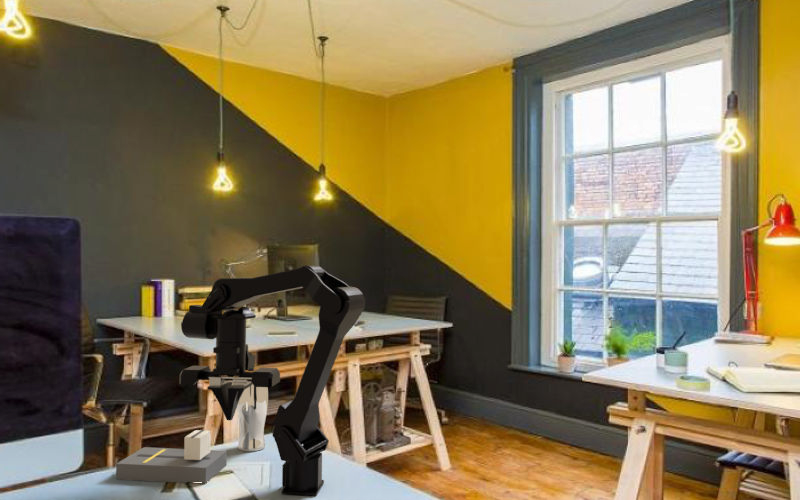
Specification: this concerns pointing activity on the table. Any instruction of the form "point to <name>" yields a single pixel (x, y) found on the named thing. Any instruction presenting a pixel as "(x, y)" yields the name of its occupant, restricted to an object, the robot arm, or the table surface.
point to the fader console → (170, 466)
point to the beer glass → (252, 418)
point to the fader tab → (197, 445)
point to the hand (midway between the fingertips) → (229, 419)
